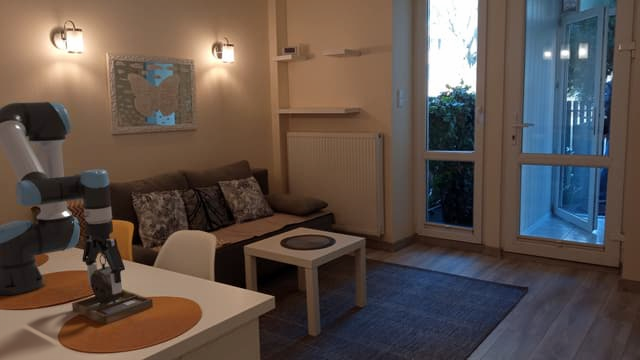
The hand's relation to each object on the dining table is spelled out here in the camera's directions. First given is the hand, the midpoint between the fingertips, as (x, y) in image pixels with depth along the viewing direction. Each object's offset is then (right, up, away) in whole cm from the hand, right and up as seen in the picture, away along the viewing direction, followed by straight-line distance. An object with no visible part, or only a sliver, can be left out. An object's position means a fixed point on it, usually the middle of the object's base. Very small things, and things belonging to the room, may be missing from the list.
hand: (105, 288), depth 159 cm
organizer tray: (+3, -7, -1) cm, 7 cm away
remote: (+7, -6, -5) cm, 10 cm away
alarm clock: (0, -6, +1) cm, 6 cm away
